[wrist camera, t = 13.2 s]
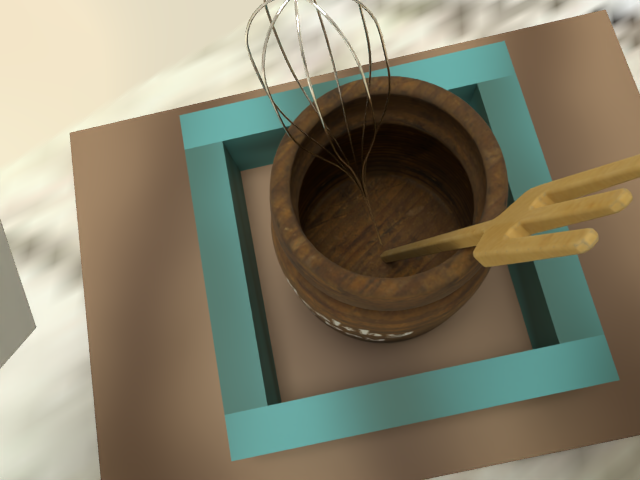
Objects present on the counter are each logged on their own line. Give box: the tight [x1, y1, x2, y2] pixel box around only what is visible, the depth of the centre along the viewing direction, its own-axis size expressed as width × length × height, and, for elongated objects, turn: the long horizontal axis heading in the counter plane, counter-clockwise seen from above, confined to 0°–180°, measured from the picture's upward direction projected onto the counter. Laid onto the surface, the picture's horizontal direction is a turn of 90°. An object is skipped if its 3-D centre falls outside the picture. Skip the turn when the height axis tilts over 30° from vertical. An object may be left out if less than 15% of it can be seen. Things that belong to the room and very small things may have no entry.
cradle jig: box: [70, 10, 640, 480], centre depth 18 cm, size 20×14×4 cm
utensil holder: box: [245, 0, 640, 343], centre depth 13 cm, size 6×6×12 cm
